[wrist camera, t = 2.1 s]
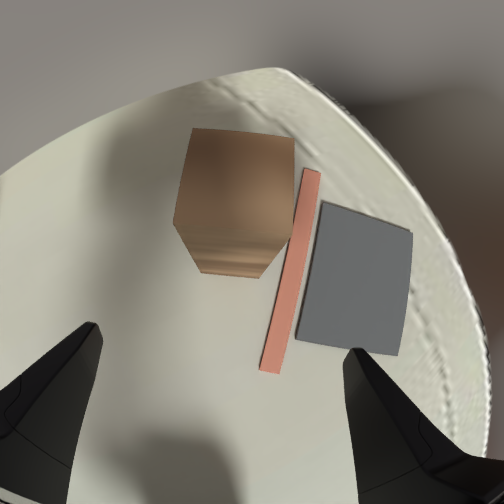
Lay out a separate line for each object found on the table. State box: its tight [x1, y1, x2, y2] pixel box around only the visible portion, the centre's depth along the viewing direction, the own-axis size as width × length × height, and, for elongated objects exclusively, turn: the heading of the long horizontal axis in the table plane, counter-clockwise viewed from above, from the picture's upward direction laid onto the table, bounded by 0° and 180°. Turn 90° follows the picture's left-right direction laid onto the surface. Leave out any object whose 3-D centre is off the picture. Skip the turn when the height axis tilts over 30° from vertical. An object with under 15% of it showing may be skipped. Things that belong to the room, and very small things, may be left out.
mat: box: [295, 202, 413, 356], centre depth 23 cm, size 12×10×1 cm
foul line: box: [259, 169, 321, 374], centre depth 23 cm, size 18×2×1 cm, turn 166°
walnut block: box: [173, 128, 294, 279], centre depth 17 cm, size 5×5×12 cm
